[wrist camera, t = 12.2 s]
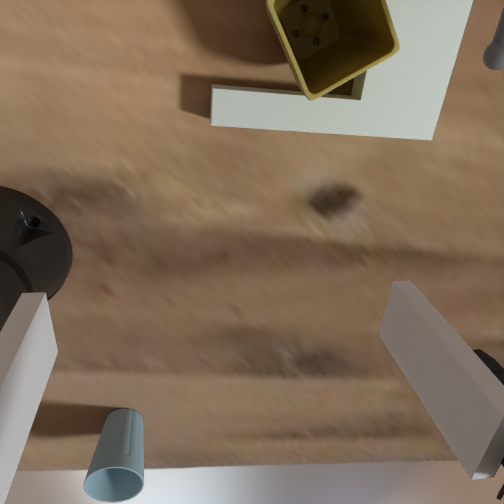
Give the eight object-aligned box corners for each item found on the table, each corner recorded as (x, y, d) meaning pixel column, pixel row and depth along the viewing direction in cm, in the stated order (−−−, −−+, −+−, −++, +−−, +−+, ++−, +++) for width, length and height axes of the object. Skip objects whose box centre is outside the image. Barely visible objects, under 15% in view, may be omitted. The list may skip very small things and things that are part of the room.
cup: (94, 404, 62) (79, 470, 53) (147, 400, 63) (141, 464, 54) (101, 438, 66) (87, 505, 57) (151, 434, 67) (145, 499, 58)
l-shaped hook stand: (209, 119, 45) (220, 169, 30) (220, -127, 35) (245, -230, 20) (418, 133, 48) (519, 184, 34) (479, -84, 39) (656, -145, 24)
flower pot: (249, 1, 40) (264, -3, 32) (332, -49, 39) (368, -66, 31) (287, 88, 44) (309, 103, 36) (363, 45, 43) (402, 51, 35)
